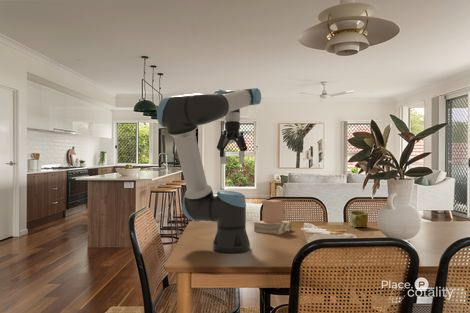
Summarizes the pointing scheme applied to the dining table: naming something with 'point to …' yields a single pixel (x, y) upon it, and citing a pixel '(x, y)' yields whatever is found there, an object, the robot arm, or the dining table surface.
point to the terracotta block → (272, 211)
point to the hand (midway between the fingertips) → (232, 163)
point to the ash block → (272, 227)
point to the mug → (358, 219)
